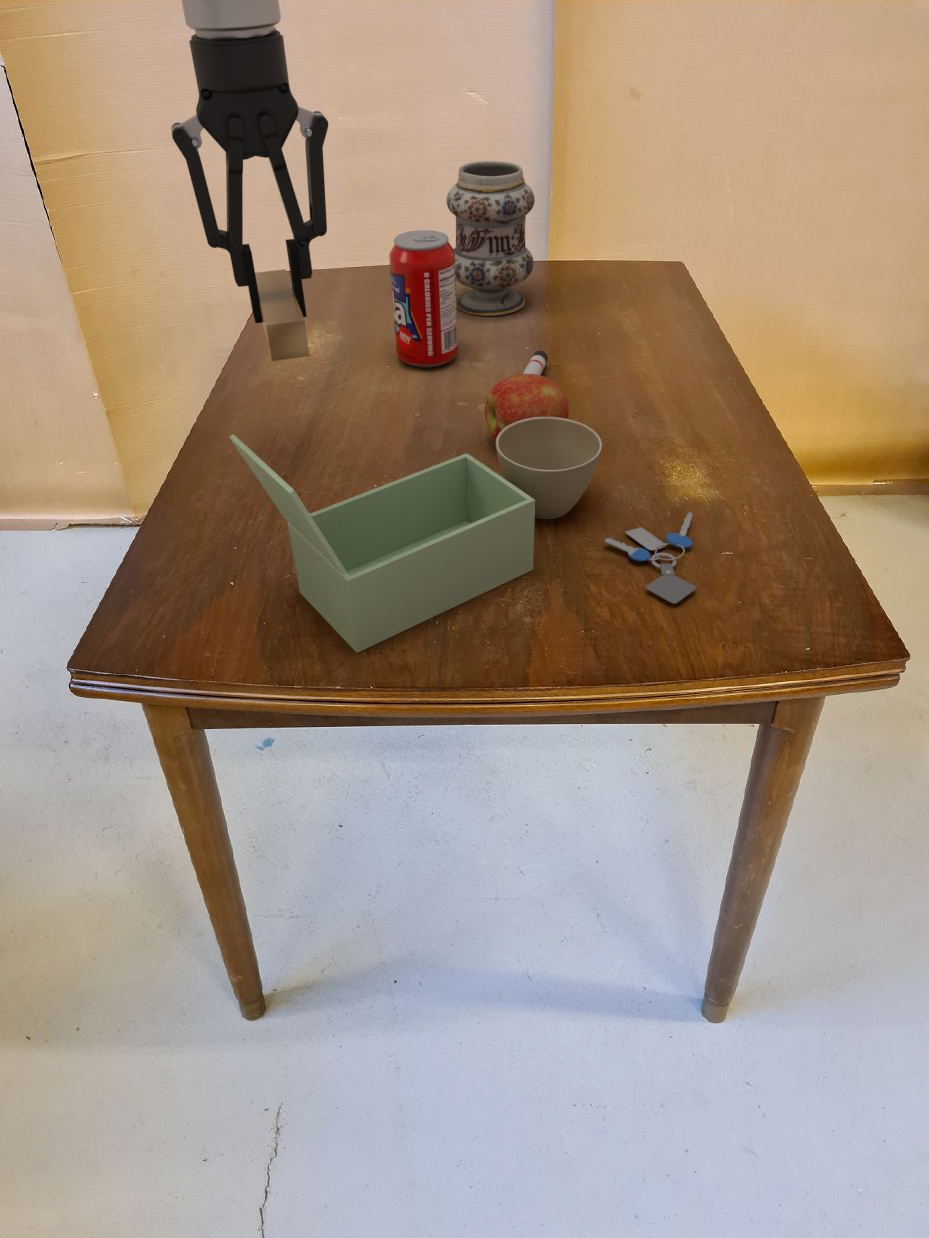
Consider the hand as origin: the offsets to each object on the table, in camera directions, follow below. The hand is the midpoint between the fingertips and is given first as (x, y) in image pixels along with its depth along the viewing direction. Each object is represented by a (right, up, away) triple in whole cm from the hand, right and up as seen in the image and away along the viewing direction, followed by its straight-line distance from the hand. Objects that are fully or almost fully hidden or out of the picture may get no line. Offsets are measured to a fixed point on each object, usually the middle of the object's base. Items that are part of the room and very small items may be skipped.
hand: (279, 314), depth 88 cm
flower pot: (+26, -19, +2) cm, 32 cm away
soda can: (+13, +4, +29) cm, 32 cm away
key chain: (+35, -24, -5) cm, 43 cm away
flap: (+5, -21, -20) cm, 29 cm away
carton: (+14, -26, -7) cm, 30 cm away
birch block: (0, -1, +1) cm, 2 cm away
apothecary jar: (+22, +16, +42) cm, 50 cm away
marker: (+25, -3, +21) cm, 33 cm away
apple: (+25, -11, +11) cm, 29 cm away
